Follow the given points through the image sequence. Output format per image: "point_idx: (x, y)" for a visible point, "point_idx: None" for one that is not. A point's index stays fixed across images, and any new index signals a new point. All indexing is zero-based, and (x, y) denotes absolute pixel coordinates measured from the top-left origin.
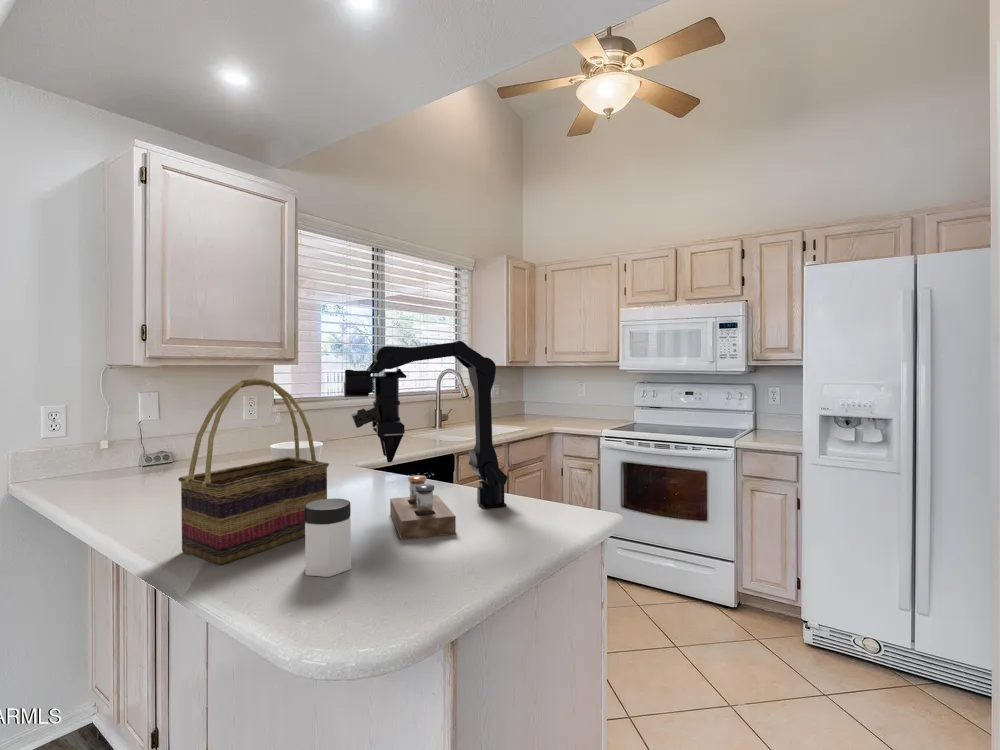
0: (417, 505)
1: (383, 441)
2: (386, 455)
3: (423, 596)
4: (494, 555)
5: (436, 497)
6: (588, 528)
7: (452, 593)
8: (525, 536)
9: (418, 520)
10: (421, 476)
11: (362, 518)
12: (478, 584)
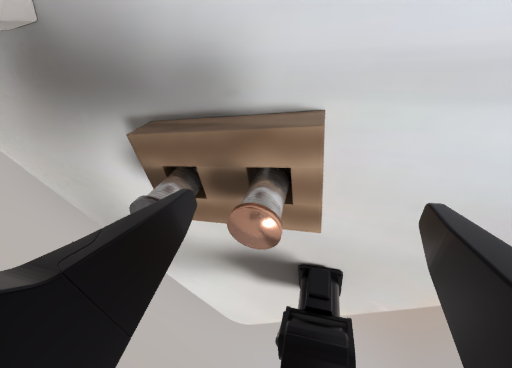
0: (165, 179)
1: (12, 271)
2: (147, 206)
3: (8, 128)
4: (122, 212)
5: (294, 225)
6: (203, 295)
7: (28, 155)
8: (179, 253)
9: (142, 164)
10: (261, 241)
11: (311, 19)
12: (54, 179)
